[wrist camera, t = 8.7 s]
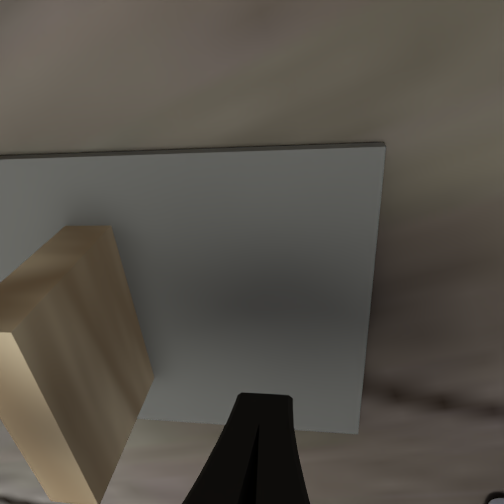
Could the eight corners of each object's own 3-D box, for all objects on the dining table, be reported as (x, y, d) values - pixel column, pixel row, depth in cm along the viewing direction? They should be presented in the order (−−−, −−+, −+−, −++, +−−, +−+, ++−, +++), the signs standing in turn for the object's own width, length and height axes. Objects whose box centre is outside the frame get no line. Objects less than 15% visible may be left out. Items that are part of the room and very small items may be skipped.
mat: (383, 142, 11) (386, 146, 10) (357, 425, 17) (358, 434, 17) (-121, 160, 13) (-133, 164, 13) (15, 402, 19) (10, 409, 19)
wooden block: (111, 225, 13) (11, 332, 9) (154, 377, 16) (98, 506, 12) (65, 225, 13) (-54, 330, 9) (117, 375, 17) (50, 501, 12)
